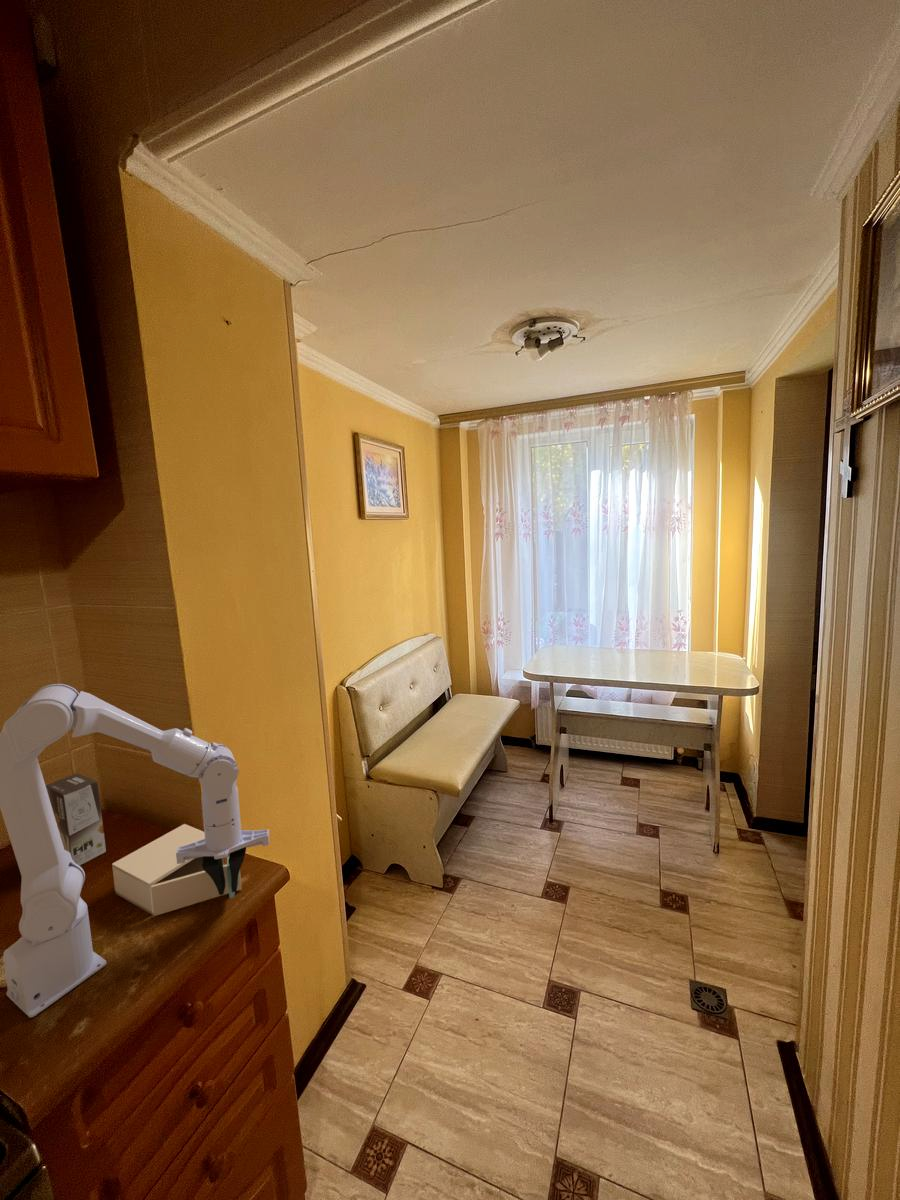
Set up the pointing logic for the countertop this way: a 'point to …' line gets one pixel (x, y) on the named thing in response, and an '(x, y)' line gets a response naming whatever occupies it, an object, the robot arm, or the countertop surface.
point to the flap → (189, 890)
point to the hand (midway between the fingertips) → (228, 889)
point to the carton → (155, 866)
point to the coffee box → (78, 816)
